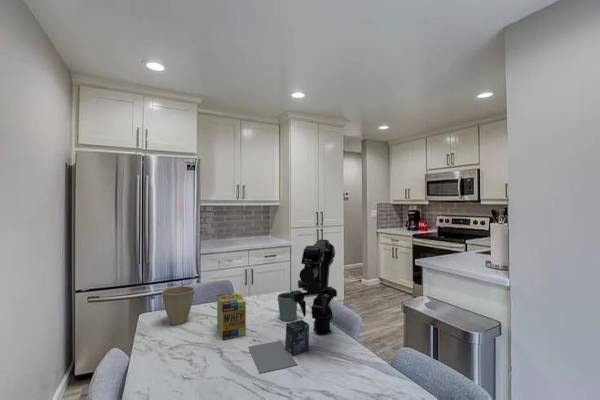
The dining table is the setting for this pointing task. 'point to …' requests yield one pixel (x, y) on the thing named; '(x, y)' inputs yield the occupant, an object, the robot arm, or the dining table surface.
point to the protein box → (231, 315)
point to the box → (297, 337)
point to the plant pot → (178, 303)
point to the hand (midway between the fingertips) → (313, 314)
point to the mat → (271, 357)
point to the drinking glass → (287, 307)
